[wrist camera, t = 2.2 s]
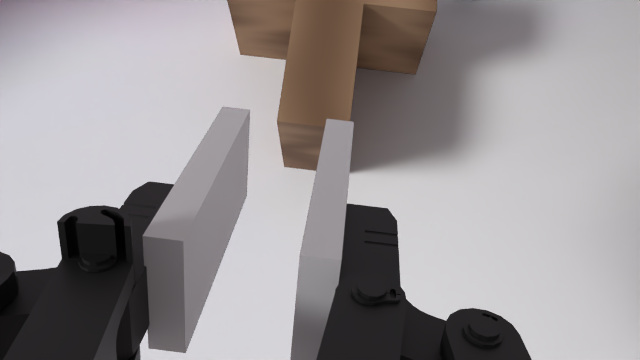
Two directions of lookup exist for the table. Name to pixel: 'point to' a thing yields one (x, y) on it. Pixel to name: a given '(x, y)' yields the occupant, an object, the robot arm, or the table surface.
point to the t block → (328, 56)
